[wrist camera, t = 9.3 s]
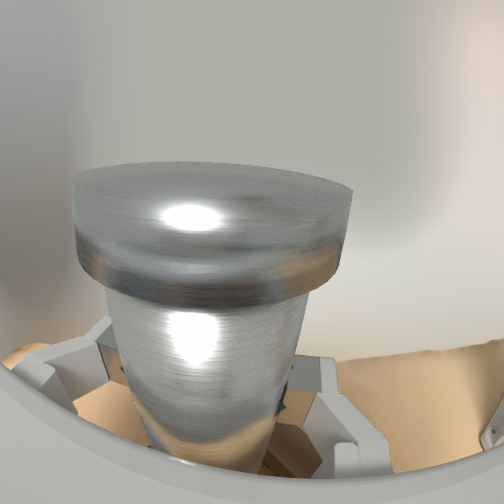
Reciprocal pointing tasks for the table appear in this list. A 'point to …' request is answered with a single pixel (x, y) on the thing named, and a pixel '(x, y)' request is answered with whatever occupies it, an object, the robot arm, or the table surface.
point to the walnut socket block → (290, 452)
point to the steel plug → (208, 291)
